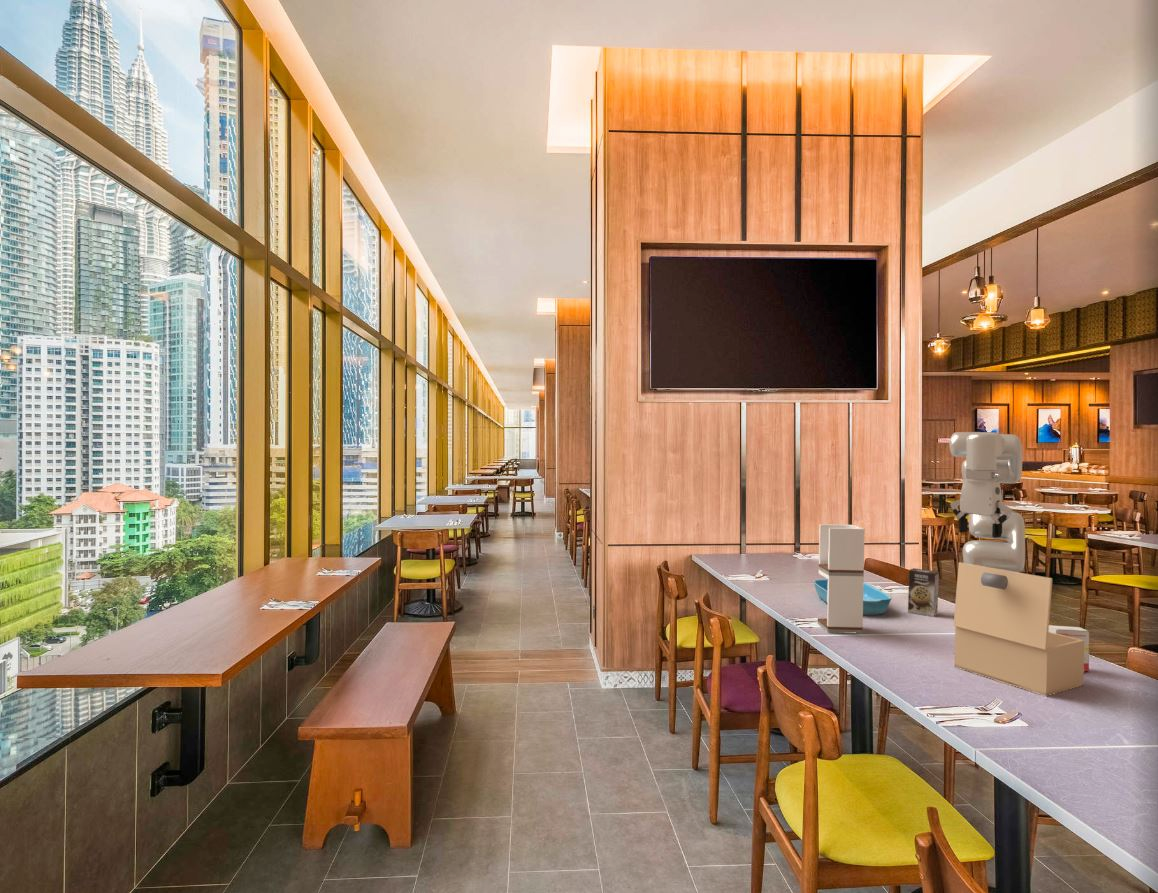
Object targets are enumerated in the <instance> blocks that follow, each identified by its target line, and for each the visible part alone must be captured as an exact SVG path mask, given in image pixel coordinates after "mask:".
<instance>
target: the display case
mask: <svg viewBox="0 0 1158 893" xmlns="http://www.w3.org/2000/svg"><path fill="white" fill-rule="evenodd" d="M818 527H819V536H818V538H819V540H818V574H819V575H820V576H822V577H824V579H828V593H827V603H826V604H827V614H826V615H827V616H826V617H825V618H824V617H823V618H822V617H817V625H818V624H819V625H820V626H819V625H818V626H819V627H821V628H822V629H823V628H824V629H823V630H824V631H825V630H826V631H827V632H826V631H825V632H826V633H828V632H856V633H855V634H857V633H862V634H863V629H864V628H863V621H864V614H863V583H865V576H864V575H865V574H864V573H865V570H864V569H865V534H866V533H865V530H866V529H865V528H863V527H859V526H857V525H854V524H832V523H831V524H827V523H826V524H823V523H822V524H821V523H820V524H819V526H818Z"/></svg>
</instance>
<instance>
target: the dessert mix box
mask: <svg viewBox="0 0 1158 893" xmlns="http://www.w3.org/2000/svg"><path fill="white" fill-rule="evenodd" d="M939 576H940V572H939V571H935V570H928V569H923V568H922V569H920V568H915V567H914V568H910V569H909V571H908V596H907V597H908V598H907V601H908V602H907V603H908V604H907V613H911V614H915V613H916V615H920V614H922V615H921V616H926V615H928V616H927V617H932V616H934V615H935V616H936V614H937V613H938V614H939V612H938V606H939V605H938V604H939V582H940V580H939V578H940V577H939ZM938 614H937V615H938ZM935 616H934V617H935Z"/></svg>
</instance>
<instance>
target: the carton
mask: <svg viewBox="0 0 1158 893" xmlns="http://www.w3.org/2000/svg"><path fill="white" fill-rule="evenodd" d="M954 628H955V629H954V631H955V632H954V668H955V667H957V668H956V669H958V668H961V669H963V670H962V671H964V670H967V671H970V672H973V673H976V674H975V675H977V674H979V675H978V676H980V675H982V676H981V677H983V676H985V677H984V678H986V677H988V678H987V679H989V678H991V679H990V680H992V679H994V680H993V681H995V680H996V681H995V682H998V681H999V683H1001V684H1002V683H1003V684H1005V683H1006V684H1005V685H1008V684H1009V685H1008V686H1011V685H1013V686H1012V687H1014V686H1016V687H1015V688H1017V687H1019V688H1018V689H1020V688H1023V689H1026V690H1025V691H1027V690H1029V691H1028V692H1030V691H1032V692H1031V693H1033V692H1036V693H1039V694H1042V695H1045V696H1047V695H1050V694H1053V695H1055V694H1054V693H1057V692H1060V693H1062V692H1061V691H1063V692H1066V691H1069V690H1068V689H1070V690H1072V688H1073V689H1075V687H1076V688H1080V687H1082V686H1081V685H1083V686H1084V680H1085V679H1084V678H1085V677H1084V674H1085V672H1084V640H1081V639H1076V638H1072V637H1068V636H1064V635H1060V634H1056V633H1051V632H1049V631H1048V642H1047V650H1044V649H1041V648H1037V647H1033V646H1029V645H1025V644H1022V643H1018V642H1014V641H1010V640H1006V639H1003V638H999V637H995V636H991V635H987V634H984V633H980V632H976V631H972V630H968V629H965V628H961V627H957V626H954ZM961 669H960V670H961ZM967 671H966V672H967ZM970 672H969V673H970ZM973 673H972V674H973ZM1079 686H1080V687H1079ZM1023 689H1022V690H1023ZM1065 690H1066V691H1065ZM1036 693H1035V694H1036ZM1039 694H1038V695H1039ZM1057 694H1058V693H1057ZM1042 695H1041V696H1042ZM1045 696H1044V697H1045ZM1050 696H1051V695H1050ZM1047 697H1048V696H1047Z"/></svg>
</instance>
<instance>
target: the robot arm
mask: <svg viewBox="0 0 1158 893" xmlns="http://www.w3.org/2000/svg"><path fill="white" fill-rule="evenodd" d="M948 444H949V445H948V446H949V451H950V454H951V455H952V456H953V457H954V458H956V457H957V458H965V460H963V461H962V463H961V476H962V485H961V486H962V487H961V490H960V498H959V499H957V500H954V501H952V502H950V505H949V506H950V507H951V510H952V513H953V514H954V515H955V517H956V519H958V521H957V522H958V524H957V525H958V527H957V528H958V533H961V534H962V533H967V532H968V530H969V533H970V535H971V536H973V537H975V538H979V539H981V538H982V539H991V540H982V539H981V540H978V539H977V540H976V539H974V540H970V541H967V542H965V544H964V545H963V546H962V559H963V563H967V564H973V565H978V566H984V567H990V568H996V569H1001V570H1007V571H1013V572H1018V573H1021V572H1022V571H1023V570H1024V567H1025V564H1026V530H1025V529H1026V525H1025V519H1024V518H1023V516H1022V514H1020V513H1019V512H1015V511H1013V508H1010V507H1009V506H1007V505H1006V504H1005V503H1003V496H1002V495H1003V494H1002V489H1001V484H1016V483H1017V484H1018V482H1020V481H1021V479H1022V474H1023V444H1022V442H1021V439H1020V437H1019V436H1017V435H1015V434H1011V433H1010V434H1009V433H1007V434H1002V433H999V432H991V431H989V432H984V431H982V432H981V431H958V432H957V431H956V432H953V433H952V435H951V436H950V438H949V443H948ZM967 517H968V518H967ZM993 540H1003V541H1004V540H1005V541H1007V542H1003V541H993Z"/></svg>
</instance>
